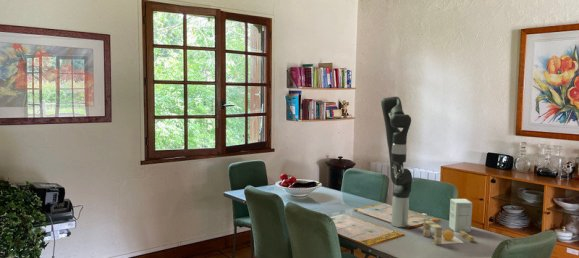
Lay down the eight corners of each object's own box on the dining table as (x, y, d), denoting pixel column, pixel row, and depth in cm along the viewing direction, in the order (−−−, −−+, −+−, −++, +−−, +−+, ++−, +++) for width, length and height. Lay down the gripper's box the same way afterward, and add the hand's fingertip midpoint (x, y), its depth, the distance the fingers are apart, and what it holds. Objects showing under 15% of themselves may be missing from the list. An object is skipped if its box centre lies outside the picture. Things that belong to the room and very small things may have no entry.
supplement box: (464, 226, 265) (466, 198, 263) (471, 232, 255) (473, 202, 254) (448, 226, 264) (450, 198, 262) (454, 231, 255) (456, 202, 253)
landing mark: (431, 236, 247) (431, 235, 247) (452, 235, 249) (452, 234, 249) (442, 243, 235) (442, 243, 235) (463, 242, 237) (464, 242, 237)
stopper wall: (459, 235, 249) (459, 230, 249) (462, 235, 249) (462, 230, 249) (470, 242, 238) (470, 237, 238) (473, 242, 238) (474, 237, 238)
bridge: (422, 235, 247) (423, 219, 246) (428, 235, 248) (428, 218, 247) (435, 244, 233) (436, 227, 232) (441, 244, 234) (442, 227, 233)
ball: (440, 238, 243) (441, 228, 242) (449, 237, 244) (450, 227, 243) (446, 242, 237) (447, 232, 236) (455, 241, 239) (456, 232, 238)
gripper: (411, 154, 231) (409, 188, 232) (400, 150, 244) (399, 182, 245) (397, 154, 229) (395, 188, 231) (387, 150, 242) (385, 182, 244)
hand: (397, 185), depth 238 cm, fingers closed
